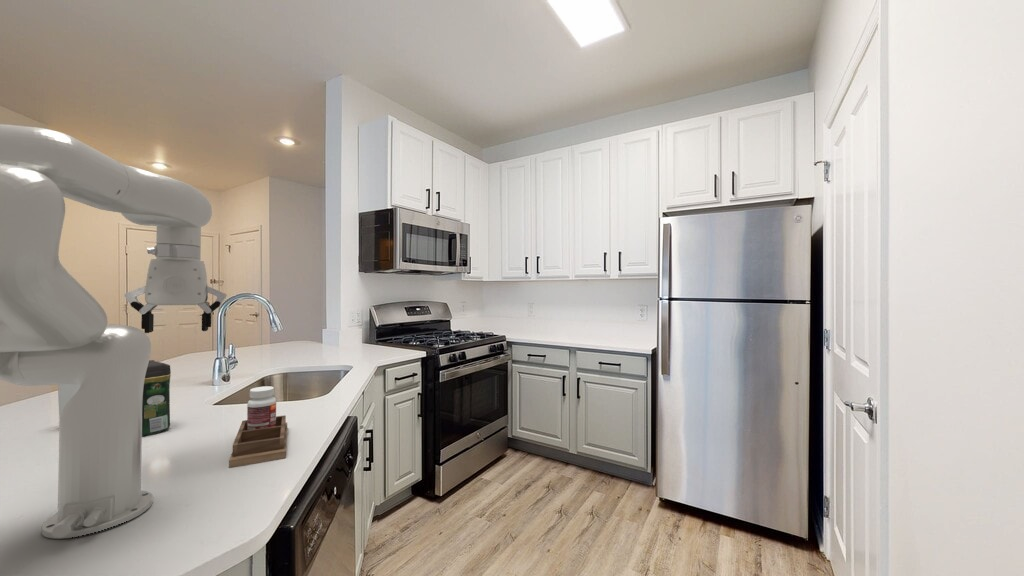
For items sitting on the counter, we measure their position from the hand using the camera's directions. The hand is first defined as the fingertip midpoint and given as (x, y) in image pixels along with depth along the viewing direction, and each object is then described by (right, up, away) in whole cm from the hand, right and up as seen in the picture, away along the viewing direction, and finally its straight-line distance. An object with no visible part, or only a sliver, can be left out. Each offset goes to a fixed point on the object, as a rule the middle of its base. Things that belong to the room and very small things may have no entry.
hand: (177, 331), depth 87 cm
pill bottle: (+11, -27, +12) cm, 32 cm away
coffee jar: (-22, -29, +17) cm, 40 cm away
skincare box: (-42, -28, +20) cm, 55 cm away
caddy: (+13, -29, +8) cm, 33 cm away
